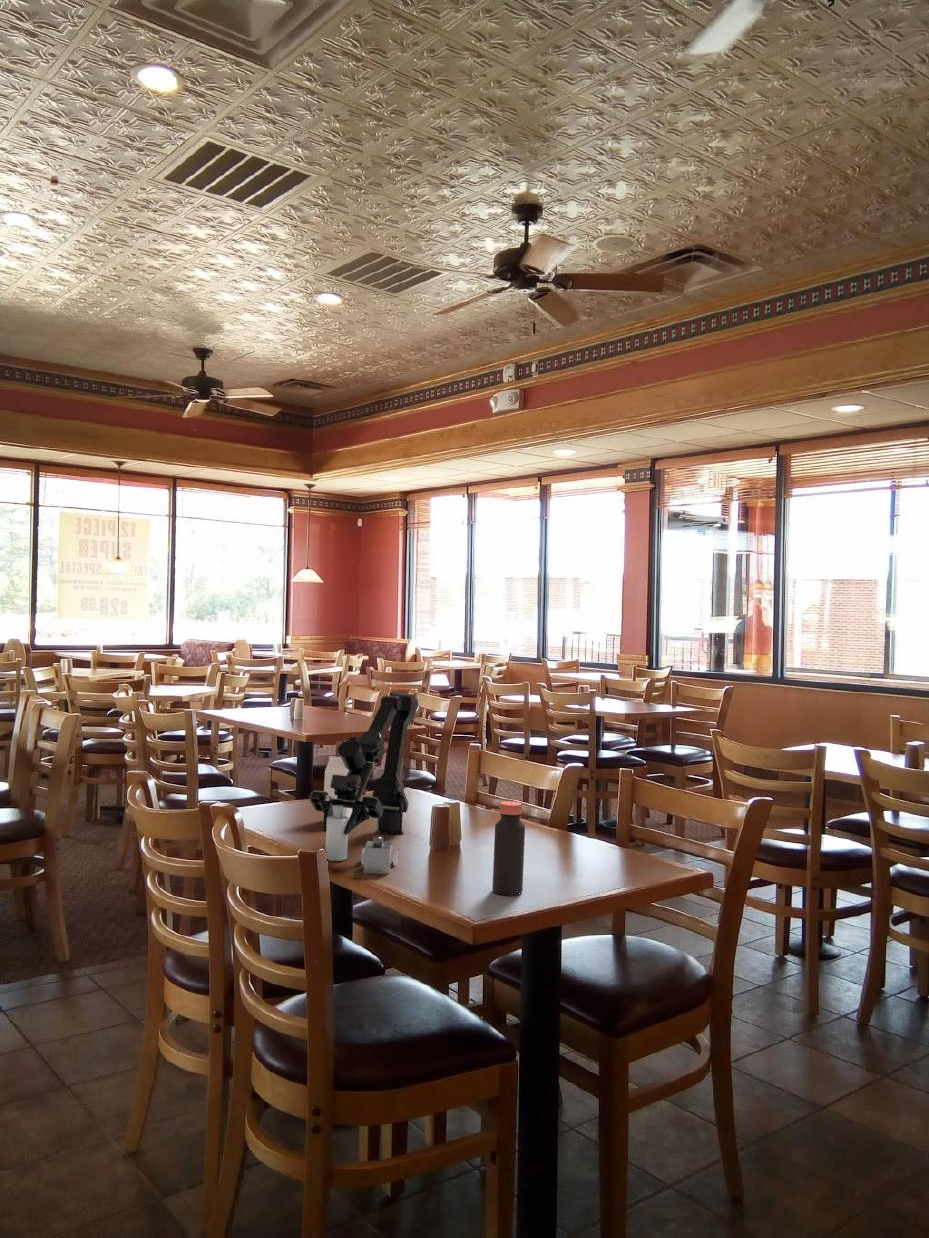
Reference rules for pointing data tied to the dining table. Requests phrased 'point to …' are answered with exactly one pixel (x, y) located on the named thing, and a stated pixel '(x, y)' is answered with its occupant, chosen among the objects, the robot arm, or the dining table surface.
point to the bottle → (509, 850)
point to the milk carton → (332, 768)
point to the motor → (378, 856)
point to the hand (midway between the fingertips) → (334, 832)
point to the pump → (336, 835)
